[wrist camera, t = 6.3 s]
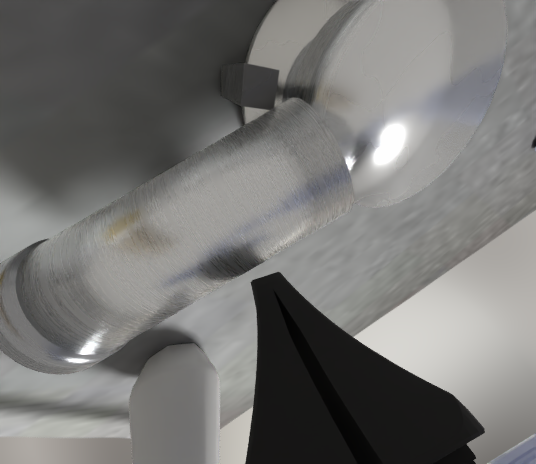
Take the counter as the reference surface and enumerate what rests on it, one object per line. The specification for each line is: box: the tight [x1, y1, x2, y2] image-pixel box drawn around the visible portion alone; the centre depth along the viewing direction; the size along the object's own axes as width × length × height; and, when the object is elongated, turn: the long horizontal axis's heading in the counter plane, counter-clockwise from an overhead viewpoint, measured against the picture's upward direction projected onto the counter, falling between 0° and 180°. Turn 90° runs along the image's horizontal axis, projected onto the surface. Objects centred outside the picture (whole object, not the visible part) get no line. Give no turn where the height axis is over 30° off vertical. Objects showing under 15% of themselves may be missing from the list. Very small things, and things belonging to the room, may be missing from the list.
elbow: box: [0, 0, 507, 374], centre depth 7 cm, size 15×6×4 cm, turn 114°
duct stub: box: [221, 0, 351, 125], centre depth 9 cm, size 9×8×4 cm
